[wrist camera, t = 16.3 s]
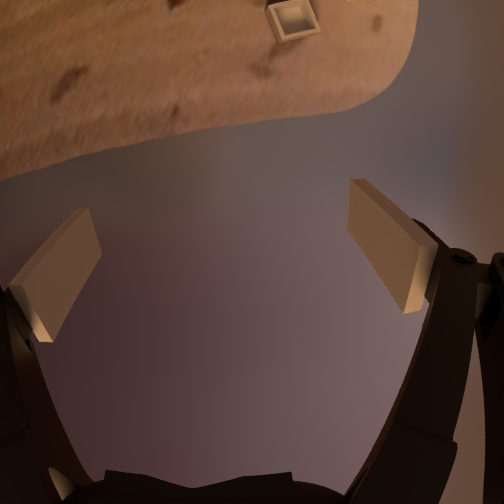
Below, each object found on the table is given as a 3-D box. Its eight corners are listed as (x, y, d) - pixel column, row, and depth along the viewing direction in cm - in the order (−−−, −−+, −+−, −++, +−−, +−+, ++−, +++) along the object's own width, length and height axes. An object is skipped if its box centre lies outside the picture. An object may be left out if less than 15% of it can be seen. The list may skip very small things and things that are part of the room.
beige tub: (264, 11, 37) (268, 5, 33) (300, 3, 36) (307, -3, 32) (277, 43, 40) (282, 40, 36) (313, 35, 39) (320, 31, 35)
